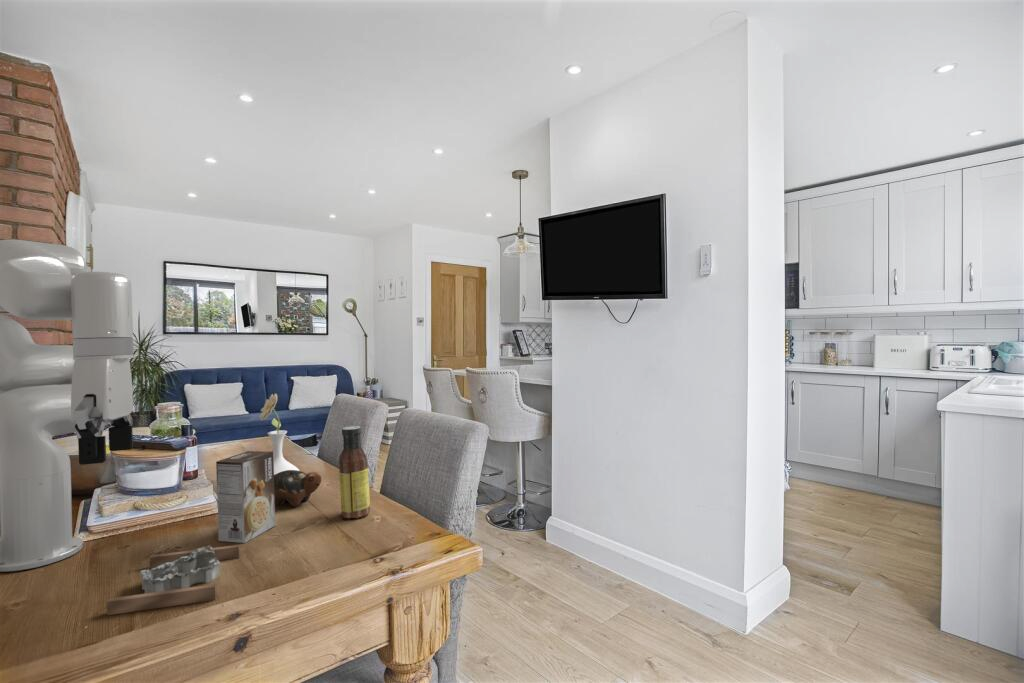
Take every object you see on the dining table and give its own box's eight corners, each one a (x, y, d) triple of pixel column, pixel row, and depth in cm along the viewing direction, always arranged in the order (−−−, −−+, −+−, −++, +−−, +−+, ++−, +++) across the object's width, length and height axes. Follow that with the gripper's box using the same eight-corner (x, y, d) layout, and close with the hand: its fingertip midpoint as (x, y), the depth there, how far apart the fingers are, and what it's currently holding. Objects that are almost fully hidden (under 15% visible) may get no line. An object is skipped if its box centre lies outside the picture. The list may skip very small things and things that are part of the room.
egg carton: (214, 565, 88) (214, 543, 88) (222, 582, 83) (221, 557, 83) (140, 584, 82) (139, 560, 82) (142, 604, 76) (142, 577, 76)
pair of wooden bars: (107, 615, 72) (106, 601, 72) (152, 566, 88) (151, 555, 88) (215, 599, 76) (215, 586, 76) (240, 555, 92) (240, 544, 92)
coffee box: (250, 524, 107) (248, 450, 107) (276, 526, 106) (275, 451, 106) (216, 541, 98) (215, 460, 98) (245, 544, 97) (243, 462, 97)
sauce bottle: (373, 509, 115) (371, 424, 115) (366, 519, 109) (364, 429, 108) (344, 510, 115) (343, 424, 114) (335, 520, 109) (334, 430, 108)
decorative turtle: (313, 510, 115) (313, 476, 115) (249, 510, 115) (248, 476, 115) (329, 496, 125) (329, 465, 125) (270, 497, 125) (269, 465, 125)
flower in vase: (259, 477, 142) (257, 390, 142) (302, 473, 145) (301, 388, 145) (250, 491, 130) (248, 396, 129) (297, 487, 133) (295, 394, 132)
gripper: (101, 350, 87) (105, 447, 87) (43, 351, 70) (47, 472, 70) (152, 348, 89) (155, 443, 89) (107, 349, 72) (111, 466, 73)
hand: (107, 456), depth 80 cm, fingers open, 9 cm apart
